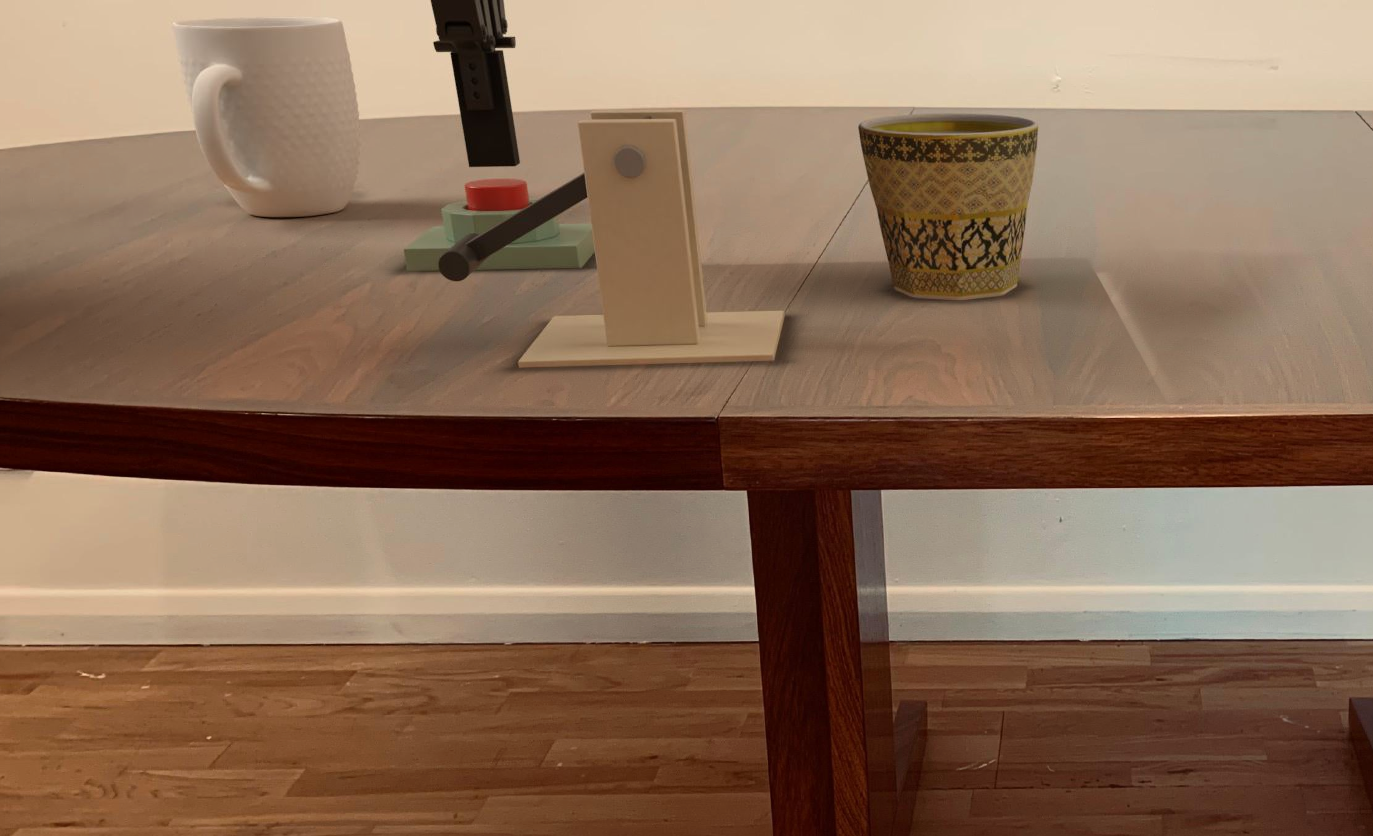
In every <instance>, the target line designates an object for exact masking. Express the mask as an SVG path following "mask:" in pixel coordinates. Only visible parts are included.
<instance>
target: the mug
mask: <svg viewBox="0 0 1373 836" xmlns="http://www.w3.org/2000/svg"><path fill="white" fill-rule="evenodd" d="M172 32H173V36H174V42H175V46H176V51H177V59H178V62H179V64H180V71H181V73H182V80H183V83H184V86H185V91H186V95H187V100H188V103H189V105H190V111H191V113H192V120H193V126H194V130H195V134H196V138H197V141H198V145H199V147H200V150H201V153H202V154H203V157H204V159H205V161H206V163H207V164H208V166H209V168H210V169H211V171H212V173H213V174H214V175H215V176H216V178H217V179H218V180H219V181H220V182H221V183H222V184H223V186H224V188H225V189H226V190H227V191H228V192H229V194H230V196H232V198H233V199H234V200H235V202H236V203H237V204H238V205H239V207H241V209H242V210H244V211H245V212H246V213H247V214H248V215H251V216H254V217H263V218H264V217H265V218H302V217H303V218H304V217H313V216H322V215H328V214H333V213H338V212H341V211H342V210H344V209H345V208H346V206H347V205H348V203H349V201H350V199H351V197H352V194H353V191H354V187H355V184H356V181H357V175H358V173H359V165H360V155H361V151H360V149H361V148H360V147H361V130H360V127H361V123H360V119H359V118H360V112H359V104H358V101H357V100H358V99H357V96H358V95H357V91H356V84H355V81H354V79H355V78H354V73H353V70H352V69H353V68H352V62H351V54H350V51H349V48H348V44H347V39H346V33H345V29H344V25H343V22H342V20H341V19H338V18H334V17H320V16H239V17H235V16H234V17H213V18H199V19H198V18H197V19H188V20H187V19H185V20H178V21H174V22H173V23H172Z"/></svg>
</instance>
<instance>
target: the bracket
mask: <svg viewBox="0 0 1373 836" xmlns="http://www.w3.org/2000/svg"><path fill="white" fill-rule="evenodd" d="M647 116H651V118H652V119H643V118H645V117H647ZM577 127H578V129H577V130H578V135H579V143H580V150H581V151H580V152H581V156H582V157H581V158H582V159H581V160H582V166H583V173H584V174H585V181H586V189H587V196H588V198H587V204H588V210H589V219H590V223H591V227H592V234H593V242H594V249H595V252H594V255H595V263H596V271H597V278H598V285H599V293H600V294H599V295H600V300H601V308H602V314H583V315H581V314H580V315H576V314H575V315H554V316H552V318H551V319H550V320H549V322H548V323H547V324H546V325H545V327H544V328H543V329H542V330H541V332H540V333H539V335H537V337H536V338H535V340H534V341H533V342H532V343H531V345H530V346H529V347H528V348H527V350H526V351H525V352H524V353H523V355H522V356H521V357H520V358H519V360H518V361H517V363H518V368H520V369H521V368H554V367H555V368H557V367H558V368H559V367H592V366H593V367H594V366H595V367H596V366H627V365H628V366H631V365H632V366H633V365H664V364H665V365H666V364H670V365H671V364H697V363H699V364H701V363H703V364H704V363H734V362H735V363H737V362H738V363H740V362H741V363H742V362H743V363H744V362H772V361H773V362H774V361H775V358H776V354H777V350H778V345H779V342H780V337H781V332H782V329H783V325H784V321H785V317H786V316H785V315H786V314H785V310H751V311H712V312H711V311H707V303H706V295H705V285H704V275H703V267H702V257H701V248H700V247H701V246H700V239H699V238H700V237H699V230H698V221H697V220H698V219H697V211H696V202H695V192H694V183H693V174H692V173H693V172H692V163H691V154H690V145H689V135H688V127H687V118H686V110H685V109H682V108H681V109H680V108H679V109H594V110H592V111H591V112H590V119H580V120H579V121H577Z"/></svg>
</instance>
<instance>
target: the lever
mask: <svg viewBox="0 0 1373 836" xmlns="http://www.w3.org/2000/svg"><path fill="white" fill-rule="evenodd" d="M643 119H652V118H651V116H647V117H645V118H643ZM538 199H539V200H537V201H535V202H534V203H532V204H530V205H529V206H527V207H525V208H524V209H522V210H520V211H519V212H517V213H515V214H514V215H512V216H510V217H509V218H507V219H505V220H504V221H502V222H500V223H498V224H497V225H495V226H493V227H492V228H490V229H488V230H487V231H485V232H483V233H482V234H476V233H471V234H468V235H466V236H465V237H463V238H462V239H461V240H460V241H458V242H457V243H456V244H455V245H453V246H452V247H451V248H450V249H448V250H447V251H446V252H445V253H444V254H442V255H441V257H440V258H439V261H438V267H439V270H438V271H439V272H440V274H441V276H443V277H444V278H445V279H447V280H449V281H451V282H461V281H464V280H466V278H468V277H469V276H470V275H471V274H472V273H474V271H475V269H476V268H477V267H478V266H479V265H481V264H482V263H483V262H484V261H485V260H486V259H487V258H488V257H489V256H490V255H492V254H493V253H495V252H497V251H498V250H500V249H502V248H503V247H505V246H507V245H508V244H510V243H512V242H514V241H515V240H517V239H519V238H520V237H522V236H524V235H525V234H527V233H529V232H530V231H532V230H534V229H535V228H537V227H539V226H540V225H542V224H544V223H545V222H547V221H549V220H551V219H552V218H554V217H556V216H557V215H558V216H559V215H561V214H562V213H564V212H566V211H567V210H569V209H571V208H573V207H574V206H576V205H578V204H579V203H581V202H583V201H585V200H586V199H588V196H587V189H586V181H585V174H584V172H582V173H581V174H579V175H577V176H576V177H574V178H572V179H571V180H569V181H568V182H566V183H564V184H562V185H560V186H559V187H557V188H556V189H554V190H552V191H551V192H549V193H547V194H546V195H544V196H543V197H540V198H538Z"/></svg>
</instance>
